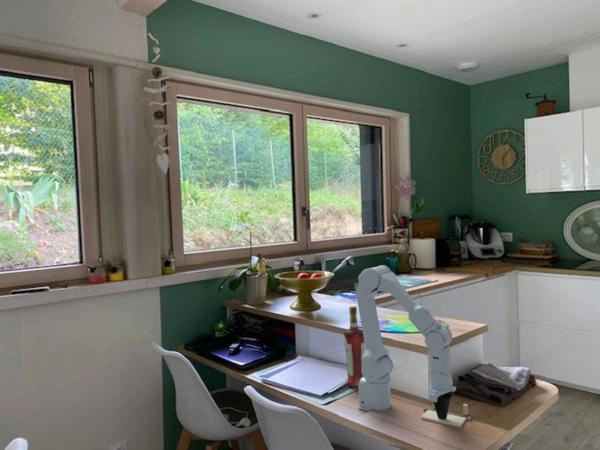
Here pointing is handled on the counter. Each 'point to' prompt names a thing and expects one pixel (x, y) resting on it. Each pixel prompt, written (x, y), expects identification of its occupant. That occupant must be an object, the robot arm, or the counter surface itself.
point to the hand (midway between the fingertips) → (442, 418)
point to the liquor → (354, 349)
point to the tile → (450, 419)
